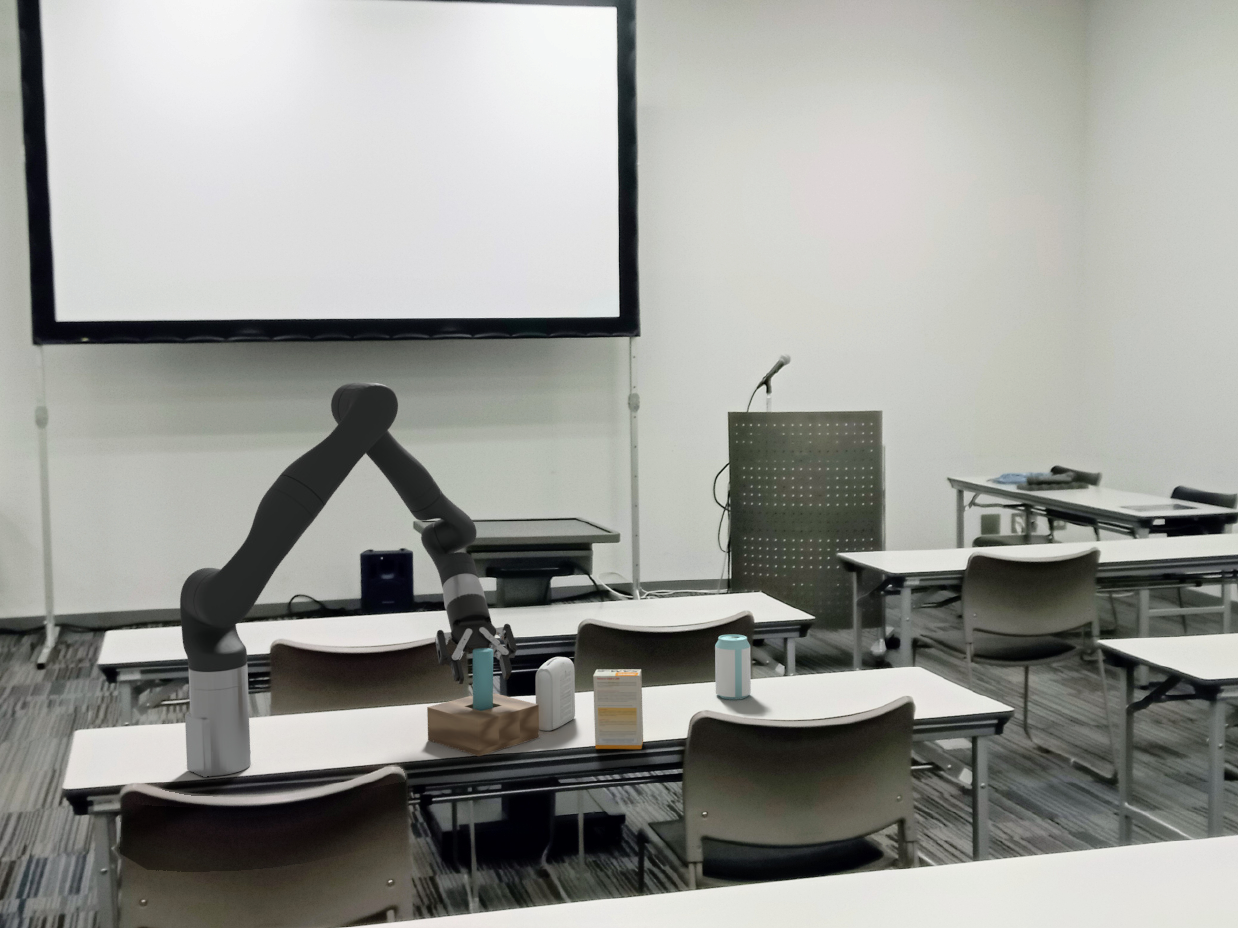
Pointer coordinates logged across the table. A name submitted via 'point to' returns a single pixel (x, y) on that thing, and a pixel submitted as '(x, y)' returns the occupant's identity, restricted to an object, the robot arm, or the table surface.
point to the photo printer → (555, 693)
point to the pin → (482, 679)
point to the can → (732, 667)
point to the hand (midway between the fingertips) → (484, 679)
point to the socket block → (483, 724)
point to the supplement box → (618, 708)
